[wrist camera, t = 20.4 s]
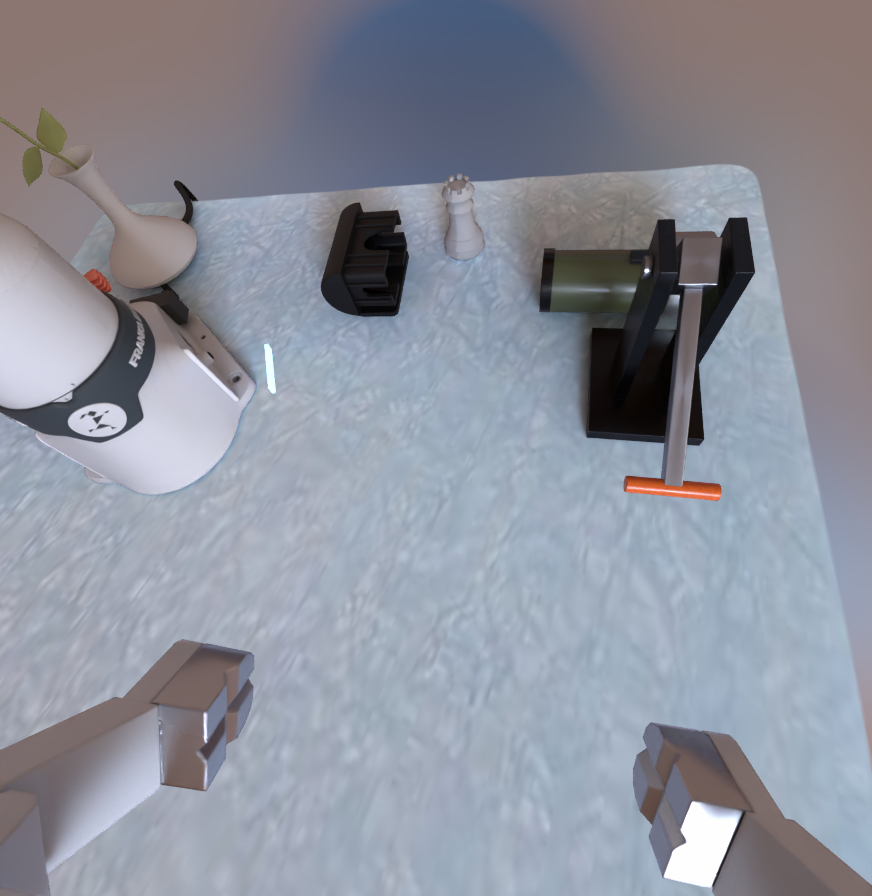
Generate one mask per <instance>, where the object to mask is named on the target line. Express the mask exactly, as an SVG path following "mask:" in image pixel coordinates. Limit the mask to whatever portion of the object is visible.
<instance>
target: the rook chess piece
mask: <svg viewBox="0 0 872 896" xmlns="http://www.w3.org/2000/svg"><path fill="white" fill-rule="evenodd" d="M448 181H449V182H448ZM448 181H445V183H444V188H443V191H442V197H443V198H444V199H445V200H446V201H447V205H446V208H447V211H448V212H449V227H448V230H447V233H446V236H445V244H446V246H445V248H446V252H447V253H448V254H449V255H450V256H451V257H452V258H454V259H457V260H462V261H466V260H470V259H473V258H474V257H476V256H477V255H478V254H479V253H480V252H481V251H482V249H483V248H484V244H485V242H484V238H483V237H484V236H483V232H482V230H481V228H480V227H479V226H478V224H477V223H476V222H475V220H474V216H473V212H472V207H473V200H472V199H471V196H472V195H473V193H474V186H473V185H472V184H471V183H470V181H469V177H468V176H467V175H466V176H464V179H463V178H462V174H457V178H456V179H453V176H452V175H451V176H450V177H448Z"/></svg>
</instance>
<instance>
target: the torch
mask: <svg viewBox="0 0 872 896" xmlns="http://www.w3.org/2000/svg"><path fill="white" fill-rule="evenodd" d="M713 237H717V236H716V234H715V232H713V231H700V232H676V247H677V245H678V244H679V243H680V241H681V240H682V239H683V238H713ZM648 250H649V249H640V250H555V248H545V249H544V256H543V267H542V279H541V293H540V309H539V312H581V313H629V310H630V306H631V303H632V300H633V297H634V294H635V291H636V287H637V284H638V281H639V278H640V273H641V265H642V261H643V258H644V256H647V253H648ZM679 297H680V295H669V296H668V298H667V300H666V303H665V305H664V308H663V310H662V313H661V315H660V317H678V307H679Z"/></svg>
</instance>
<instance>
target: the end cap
mask: <svg viewBox="0 0 872 896" xmlns="http://www.w3.org/2000/svg"><path fill="white" fill-rule="evenodd" d="M395 225H401V220H400V216H399V212H398V210H394V211H378V212H363V211H362V208H361V205H360V203H354V204H351V205H349V206H347V207H346V208H345V209H344V210H343V211H342V213H341V215H340V219H339V222H338V226H337V229H336V233H335V236H334V240H333V243H332V247H331V251H330V254H329V258H328V261H327V265H326V268H325V272H324V275H323V279H322V283H321V292H322V294H323V296H324V298H325V299H326V301H327V302H328V303H329V304H330V305H331V306H333V307H334V308H336V309H337V310H339V311H341V312H344V313H347V314H351V315H357V316H364V317H367V316H395V315H397V314H398V312H399V307H400V302H401V296H402V291H403V285H404V280H405V275H406V269H407V264H408V259H409V255H408V252H407V251H406V250H407V243H406V238H405V235H404V232H398V233H392V232H394V229H395Z"/></svg>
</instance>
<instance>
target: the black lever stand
mask: <svg viewBox="0 0 872 896" xmlns="http://www.w3.org/2000/svg"><path fill="white" fill-rule="evenodd" d="M720 237H722V238H723V240H722V249H721V258H720V268H719V277H718V284H717V285H716V286H715V287H714V288H713V289H711V290H710V291H709V292H707V293H706V294H705V295H703V297H702V306H701V315H700V325H699V334H698V344H697V353H696V363H695V372H694V382H693V391H692V400H691V410H690V419H689V429H688V438H687V445H698V446H699V445H700V444H701V443H702V442H703V440H704V430H703V417H702V404H701V391H700V377H699V364H700V362H701V360H702V359H703V357H704V355H705V354H706V352H707V350H708V349H709V347H710V346H711V344H712V342H713V341H714V339H715V337H716V336H717V334H718V332H719V331H720V329H721V328H722V326H723V324H724V323H725V321H726V319H727V318H728V316H729V314H730V313H731V311H732V309H733V308H734V306H735V305H736V303H737V301H738V300H739V298H740V296H741V295H742V293H743V291H744V290H745V288H746V287H747V285H748V283H749V282H750V280H751V278H752V277H753V275H754V273H755V268H754V262H753V255H752V248H751V241H750V234H749V228H748V221H747V218H746V217H745V218H729V219H728V221H727V224H726V226H725V228H724V230H723V232H722V234H721V236H720ZM677 274H678V264H677V247H676V231H675V220H674V219H664V220H658V221H657V224H656V227H655V231H654V234H653V237H652V240H651V243H650V246H649V250H648V253H647V256H644V258H643V261H642V265H641V273H640V278H639V281H638V284H637V287H636V291H635V294H634V297H633V300H632V303H631V306H630V310H629V313H628V316H627V319H626V322H625V325H624V328H623V329H616V328H592V330H591V335H590V359H589V387H588V415H587V437H588V438H602V439H616V440H629V441H643V442H657V443H665V434H666V424H667V415H668V405H669V395H670V385H671V376H672V366H673V356H674V346H675V336H676V330H657V329H655V327H656V325H657V322H658V320H659V317H660V315H661V313H662V310H663V308H664V305H665V303H666V300H667V298H668V296H669V293H670V291H671V288H672V286H673V283H674V281H675V279H676V276H677Z"/></svg>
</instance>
